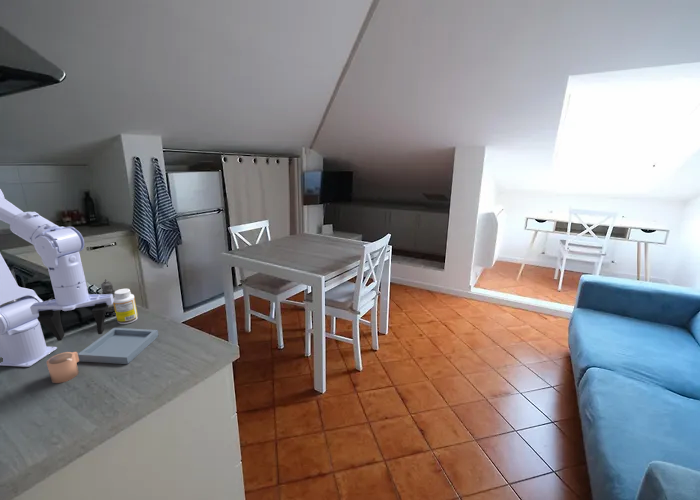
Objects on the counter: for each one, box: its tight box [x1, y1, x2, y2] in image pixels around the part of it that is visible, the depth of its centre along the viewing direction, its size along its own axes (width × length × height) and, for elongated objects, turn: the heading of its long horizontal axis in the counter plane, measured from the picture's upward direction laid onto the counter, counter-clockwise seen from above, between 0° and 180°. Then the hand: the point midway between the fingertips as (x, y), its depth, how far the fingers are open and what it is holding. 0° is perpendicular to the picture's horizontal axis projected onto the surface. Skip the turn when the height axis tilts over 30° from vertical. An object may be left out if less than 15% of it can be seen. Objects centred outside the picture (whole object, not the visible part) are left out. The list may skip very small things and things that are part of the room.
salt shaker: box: [100, 279, 116, 313], centre depth 105 cm, size 6×6×12 cm
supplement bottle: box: [113, 288, 139, 325], centre depth 102 cm, size 6×6×10 cm
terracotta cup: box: [46, 351, 80, 384], centre depth 78 cm, size 5×6×5 cm
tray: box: [77, 327, 159, 365], centre depth 89 cm, size 13×13×2 cm
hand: (81, 335), depth 77 cm, fingers open, 7 cm apart
